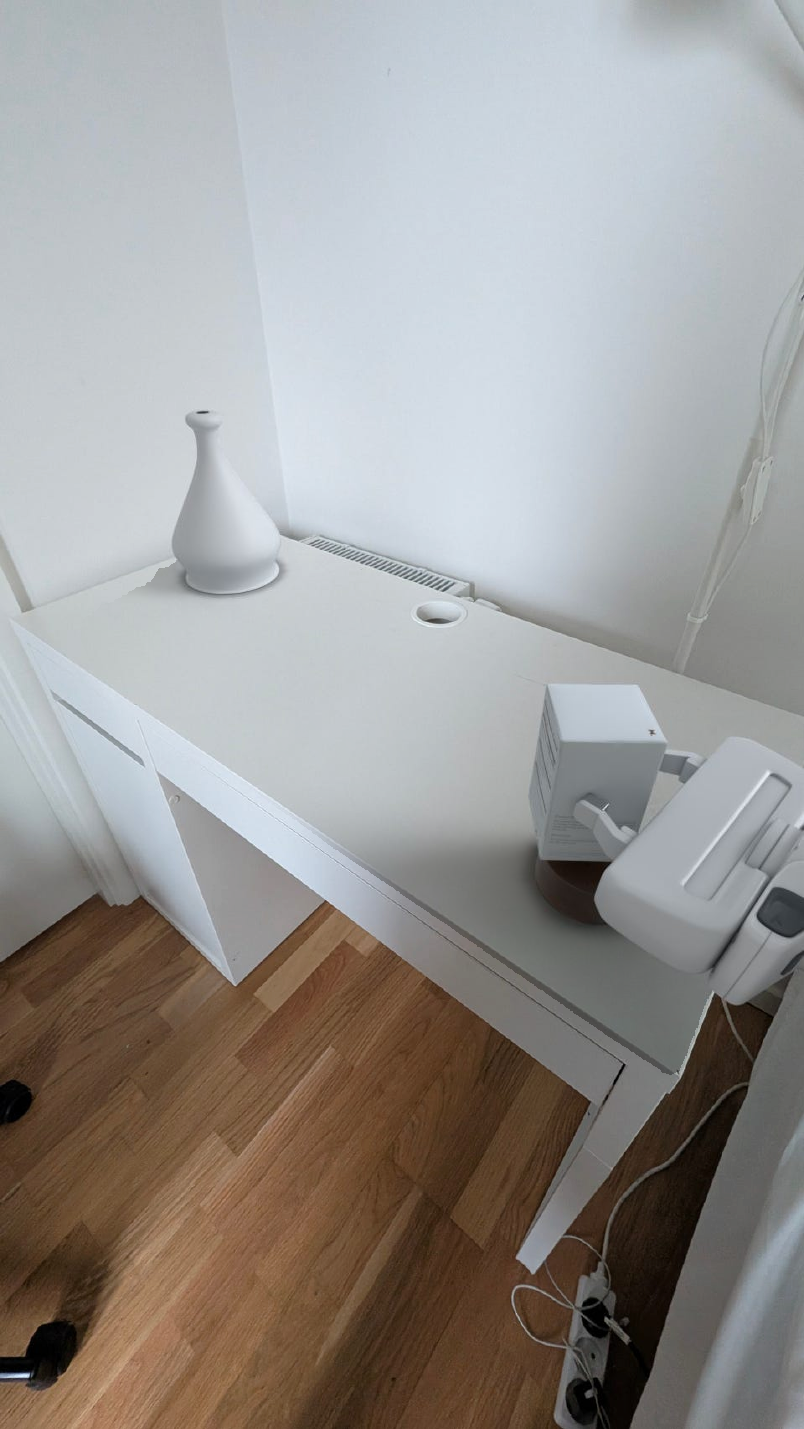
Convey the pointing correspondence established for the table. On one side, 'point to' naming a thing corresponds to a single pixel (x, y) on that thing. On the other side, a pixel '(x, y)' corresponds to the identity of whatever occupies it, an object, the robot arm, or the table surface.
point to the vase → (222, 522)
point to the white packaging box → (592, 764)
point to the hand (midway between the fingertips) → (609, 776)
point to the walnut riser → (571, 886)
